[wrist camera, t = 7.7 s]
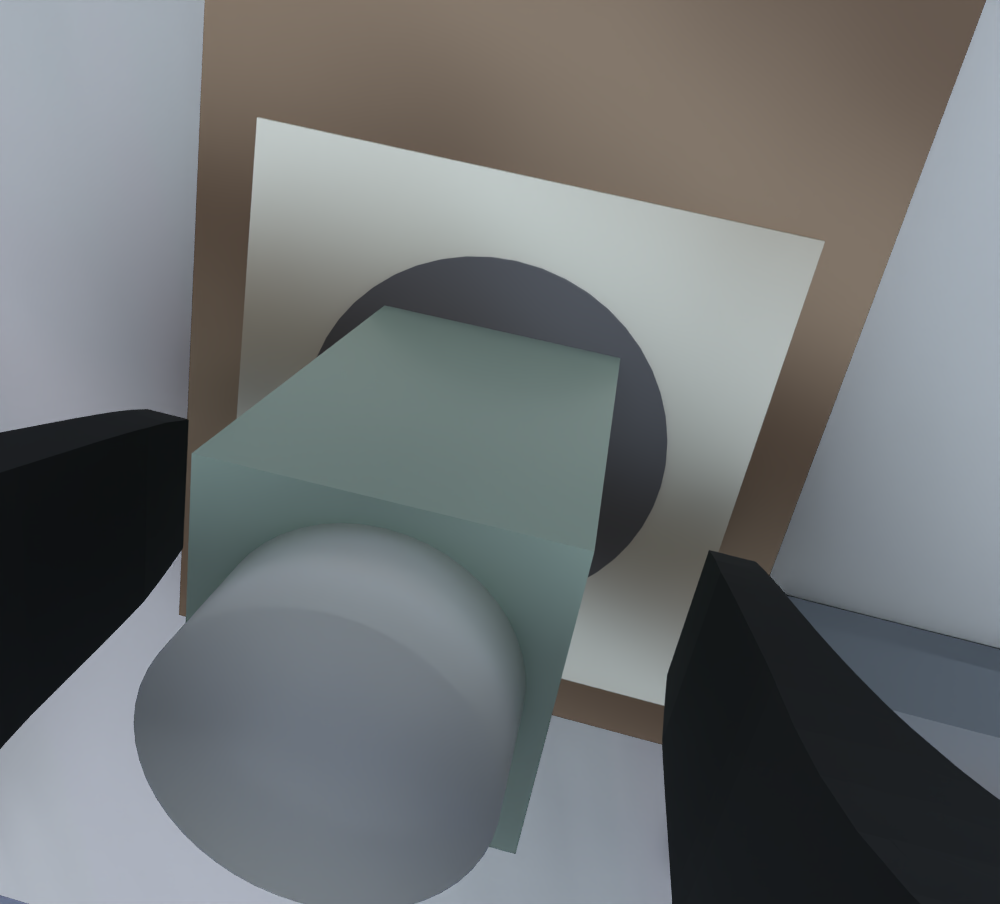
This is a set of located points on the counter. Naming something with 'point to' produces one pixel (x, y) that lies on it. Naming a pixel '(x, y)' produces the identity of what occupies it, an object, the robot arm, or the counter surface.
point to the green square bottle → (380, 609)
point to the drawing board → (578, 239)
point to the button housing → (925, 683)
